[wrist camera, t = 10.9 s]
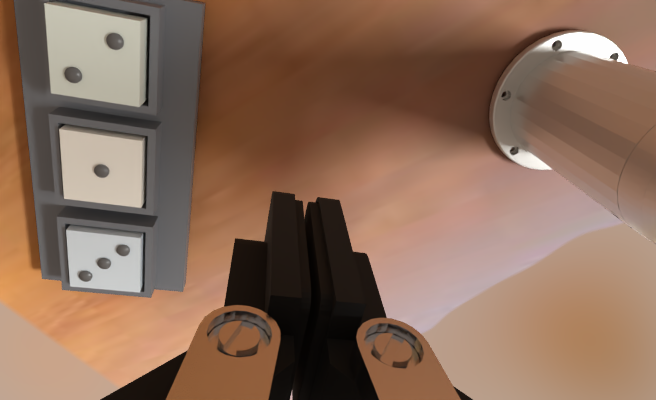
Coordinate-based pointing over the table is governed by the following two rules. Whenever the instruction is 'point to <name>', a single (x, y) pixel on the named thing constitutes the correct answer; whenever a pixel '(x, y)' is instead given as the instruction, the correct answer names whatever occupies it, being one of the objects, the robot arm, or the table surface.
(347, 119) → the table surface
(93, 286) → the tile three
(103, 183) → the tile one
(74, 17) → the tile two
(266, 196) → the table surface
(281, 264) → the robot arm
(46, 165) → the button board
